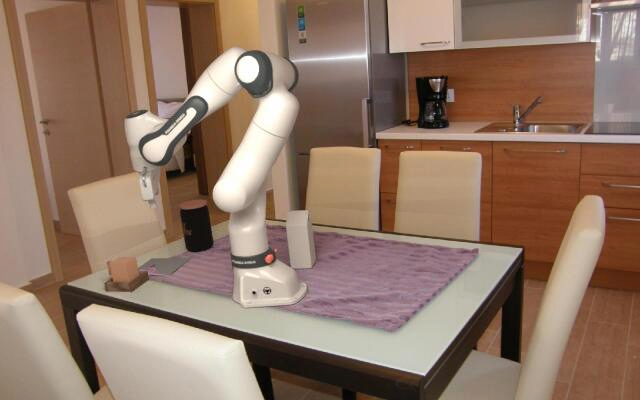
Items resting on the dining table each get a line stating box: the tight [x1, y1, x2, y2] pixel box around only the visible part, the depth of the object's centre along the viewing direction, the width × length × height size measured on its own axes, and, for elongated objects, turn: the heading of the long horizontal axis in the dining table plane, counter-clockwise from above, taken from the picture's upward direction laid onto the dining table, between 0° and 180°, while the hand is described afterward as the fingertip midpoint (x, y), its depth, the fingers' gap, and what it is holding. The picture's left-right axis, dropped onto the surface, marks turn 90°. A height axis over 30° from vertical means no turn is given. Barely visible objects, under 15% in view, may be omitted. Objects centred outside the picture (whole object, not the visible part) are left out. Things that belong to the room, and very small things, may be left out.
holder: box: [103, 271, 150, 293], centre depth 192 cm, size 10×10×3 cm
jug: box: [106, 256, 139, 282], centre depth 191 cm, size 9×6×9 cm, turn 75°
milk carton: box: [285, 209, 317, 270], centre depth 192 cm, size 7×7×19 cm
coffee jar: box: [178, 199, 214, 253], centre depth 221 cm, size 11×11×18 cm
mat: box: [138, 257, 191, 276], centre depth 206 cm, size 16×16×1 cm
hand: (155, 200), depth 187 cm, fingers open, 8 cm apart
